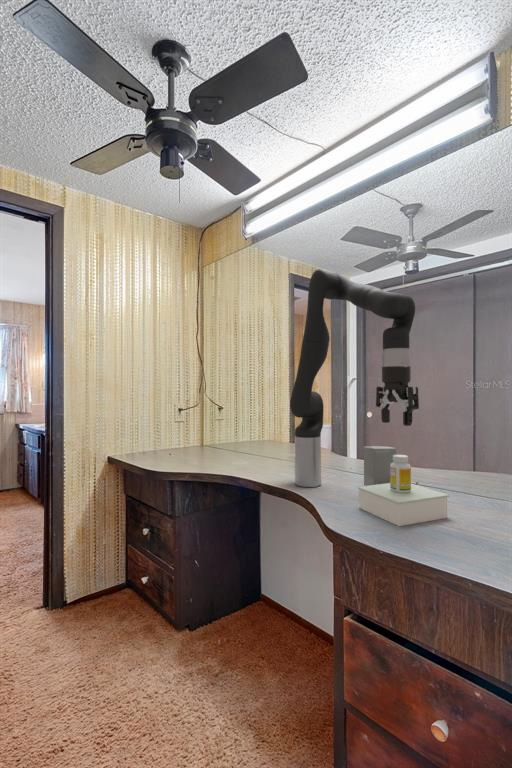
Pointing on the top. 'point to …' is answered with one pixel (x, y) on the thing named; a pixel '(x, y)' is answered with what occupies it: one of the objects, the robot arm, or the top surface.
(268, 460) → the top surface
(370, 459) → the skincare box
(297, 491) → the top surface
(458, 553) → the top surface
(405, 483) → the supplement bottle
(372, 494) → the podium
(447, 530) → the top surface
